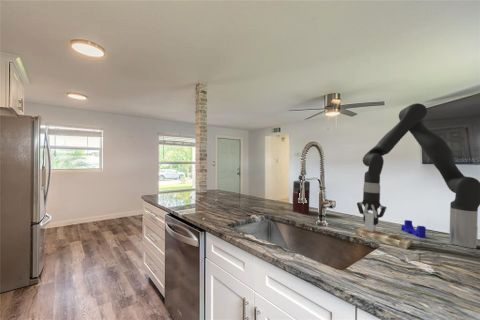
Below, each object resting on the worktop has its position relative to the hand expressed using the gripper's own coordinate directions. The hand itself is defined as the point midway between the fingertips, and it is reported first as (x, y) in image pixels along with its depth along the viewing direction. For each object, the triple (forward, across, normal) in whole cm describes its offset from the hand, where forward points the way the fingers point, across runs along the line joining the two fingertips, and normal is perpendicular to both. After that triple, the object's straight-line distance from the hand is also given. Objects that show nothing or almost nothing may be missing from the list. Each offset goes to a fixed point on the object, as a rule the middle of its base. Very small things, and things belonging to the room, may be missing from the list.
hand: (370, 223), depth 112 cm
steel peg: (+4, 0, 0) cm, 4 cm away
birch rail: (+7, -6, 0) cm, 9 cm away
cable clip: (+7, -13, -25) cm, 29 cm away
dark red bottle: (+7, +52, -12) cm, 54 cm away
